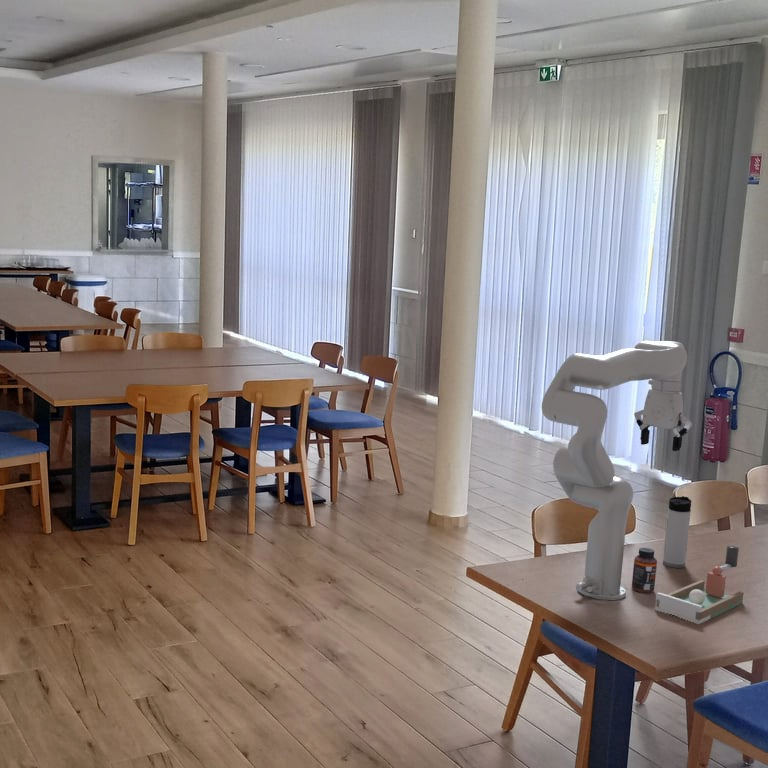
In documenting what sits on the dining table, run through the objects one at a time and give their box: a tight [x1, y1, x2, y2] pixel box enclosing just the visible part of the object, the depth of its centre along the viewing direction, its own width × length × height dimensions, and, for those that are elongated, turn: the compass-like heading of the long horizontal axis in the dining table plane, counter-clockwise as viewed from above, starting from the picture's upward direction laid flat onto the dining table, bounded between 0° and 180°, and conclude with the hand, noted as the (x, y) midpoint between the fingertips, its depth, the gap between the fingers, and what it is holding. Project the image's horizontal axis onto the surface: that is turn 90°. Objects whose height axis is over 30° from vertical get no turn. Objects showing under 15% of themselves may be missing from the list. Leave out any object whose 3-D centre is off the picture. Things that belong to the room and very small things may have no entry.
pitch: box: [654, 579, 744, 625], centre depth 266 cm, size 24×12×4 cm, turn 136°
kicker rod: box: [705, 545, 740, 598], centre depth 274 cm, size 11×4×12 cm, turn 136°
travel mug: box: [662, 495, 692, 569], centre depth 299 cm, size 6×7×20 cm
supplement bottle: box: [631, 547, 658, 594], centre depth 275 cm, size 6×6×11 cm
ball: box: [689, 589, 705, 605], centre depth 264 cm, size 4×4×4 cm
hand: (660, 447), depth 284 cm, fingers open, 9 cm apart
